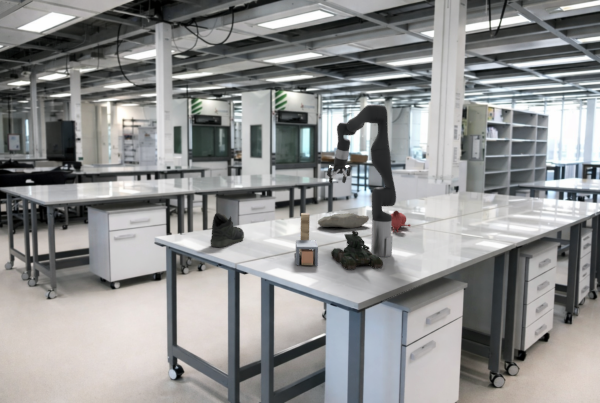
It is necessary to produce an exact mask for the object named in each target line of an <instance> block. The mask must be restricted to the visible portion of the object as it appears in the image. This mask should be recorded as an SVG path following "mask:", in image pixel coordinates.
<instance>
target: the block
mask: <svg viewBox="0 0 600 403" xmlns="http://www.w3.org/2000/svg"><path fill="white" fill-rule="evenodd" d="M301 262H302V263H313V264H314V260H313V249H301V258H300V263H301Z"/></svg>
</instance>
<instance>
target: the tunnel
mask: <svg viewBox="0 0 600 403" xmlns="http://www.w3.org/2000/svg"><path fill="white" fill-rule="evenodd" d="M300 249H313V265H314V266H315V267H317V266H318V264H319V246H318V242H317V240H315V239H313V240H312V239H311V240H310V239H309V240H301V239H295V253H296V258H295V263H296V264H295V265H296V266H297V265H298V266H300V258H299V253H300V252H299V251H300ZM298 266H297V267H298Z"/></svg>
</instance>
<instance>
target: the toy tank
mask: <svg viewBox="0 0 600 403" xmlns="http://www.w3.org/2000/svg"><path fill="white" fill-rule="evenodd" d="M344 237H345V240H346V247H345V248H344V249H343V250H342V248H339V247H337V248H335V247H334V248H332V250H331V252H330V255H331V257H332V259H334V260H335V261H336V262H338V263H340V265H341V266H342V267H343V268H344V269H346V270H347V271H348V270H349V271H350V270H355V269H356V268H357V267H358V266H369V267H371V268H373V269H381V268H382V267H383V265H384V261H383V259H382V257H378V256H376V255H373V254H372V253H371V250H370V246H368V245H366V244H365V240H363V238H362V236H360V235H359V231H354V230H352V231H351V233H348V234H347V233H345V234H344Z"/></svg>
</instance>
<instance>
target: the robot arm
mask: <svg viewBox="0 0 600 403" xmlns="http://www.w3.org/2000/svg"><path fill="white" fill-rule="evenodd" d="M367 123H368V124H377V135H376V137H375V139H374V140H373V142H372V145H371V148H370V156H371V162H372V165H373V166H374V169H375V170H376V171H377V172H378V175H380V176H381V178H382V181H383V185H384V186H383V187H379V186H378V187H374V188H373V189H372V193H371V215H372V217H371V218H372V220H371V221H372V222H371V242H370V244H371V245H370V246H371V249H370V252H371V253H372V254H373V255H376V256H378V257H380V258H387V257H390V256H393V255H392V254H393V236H392V226H391V221H392V216H391V213H388V212H385V211H384V210H383V207H394V206H395V205H396V202H397V191H396V188H395V182H394V176H393V170H392V163H391V162H392V160H391V151H390V150H391V149H390V143H389V131H388V130H389V128H388V126H389V125H388V124H389V123H388V110H387V107H386V106H385V105H384V104H383V105H382V104H372V103H371V104H368V105H366V106H364V107H363V108H362V110H361V111H359V113H358V114H357V115H356V116H354V117H352V118H351V119H349V120H348V121H347V122H339V123H338V125H337V126H336V133H337V134H336V135H337V144H336V145H337V147H336V150H335V153H334V161H333V166H331V165H328V167H327V170H326V171H327V172H326V176H327V177H329V178H328V182H329V183H330V184H333V180H334V177H335V176H337V175H339V174H341V175H342V180H341V183H343V184H345V183H346V182H347V177H350V176H351V171H352V167H351V165H348V161H349V155H350V146H351V140H350V139H348V138H345V136H354V135H356V133H357V131H359V130H361V129H362V128H363V127H364V126H365V124H367Z"/></svg>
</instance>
